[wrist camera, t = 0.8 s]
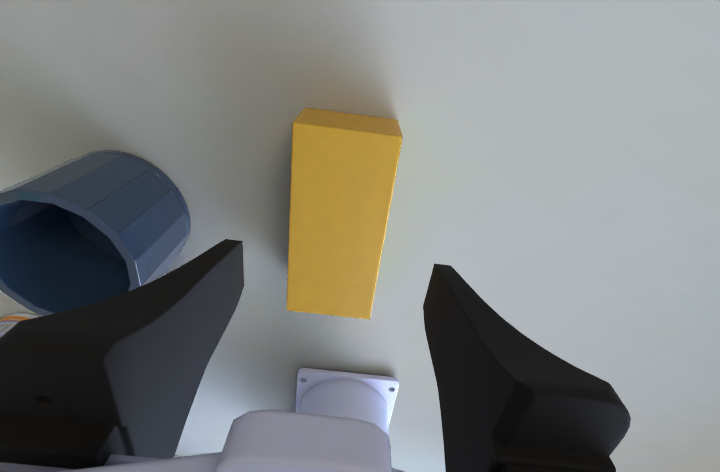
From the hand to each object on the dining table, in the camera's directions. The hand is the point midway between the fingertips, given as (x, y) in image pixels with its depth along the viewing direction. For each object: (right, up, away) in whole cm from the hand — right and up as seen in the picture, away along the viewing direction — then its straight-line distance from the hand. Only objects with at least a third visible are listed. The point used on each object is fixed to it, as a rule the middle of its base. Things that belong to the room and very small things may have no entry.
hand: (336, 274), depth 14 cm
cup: (-13, +3, +9) cm, 16 cm away
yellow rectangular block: (0, +3, +9) cm, 9 cm away
